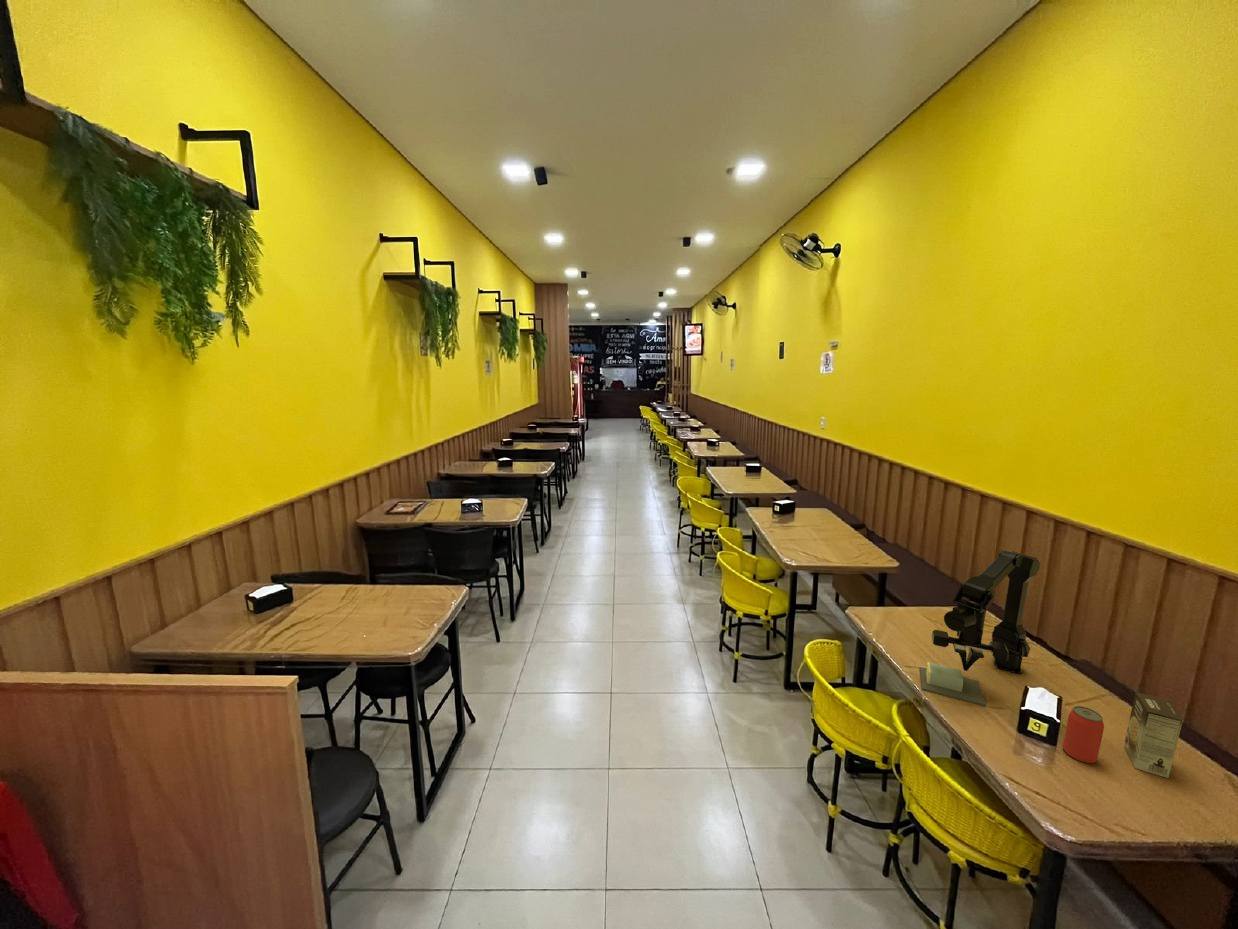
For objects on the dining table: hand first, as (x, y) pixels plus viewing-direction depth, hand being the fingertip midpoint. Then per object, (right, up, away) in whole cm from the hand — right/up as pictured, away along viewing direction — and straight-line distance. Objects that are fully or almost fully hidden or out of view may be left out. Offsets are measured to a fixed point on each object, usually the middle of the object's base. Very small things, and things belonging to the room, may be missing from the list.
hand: (965, 670), depth 152 cm
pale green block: (0, -4, +1) cm, 4 cm away
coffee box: (+26, -12, -27) cm, 40 cm away
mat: (-3, -6, +3) cm, 7 cm away
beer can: (+12, -12, -25) cm, 30 cm away
